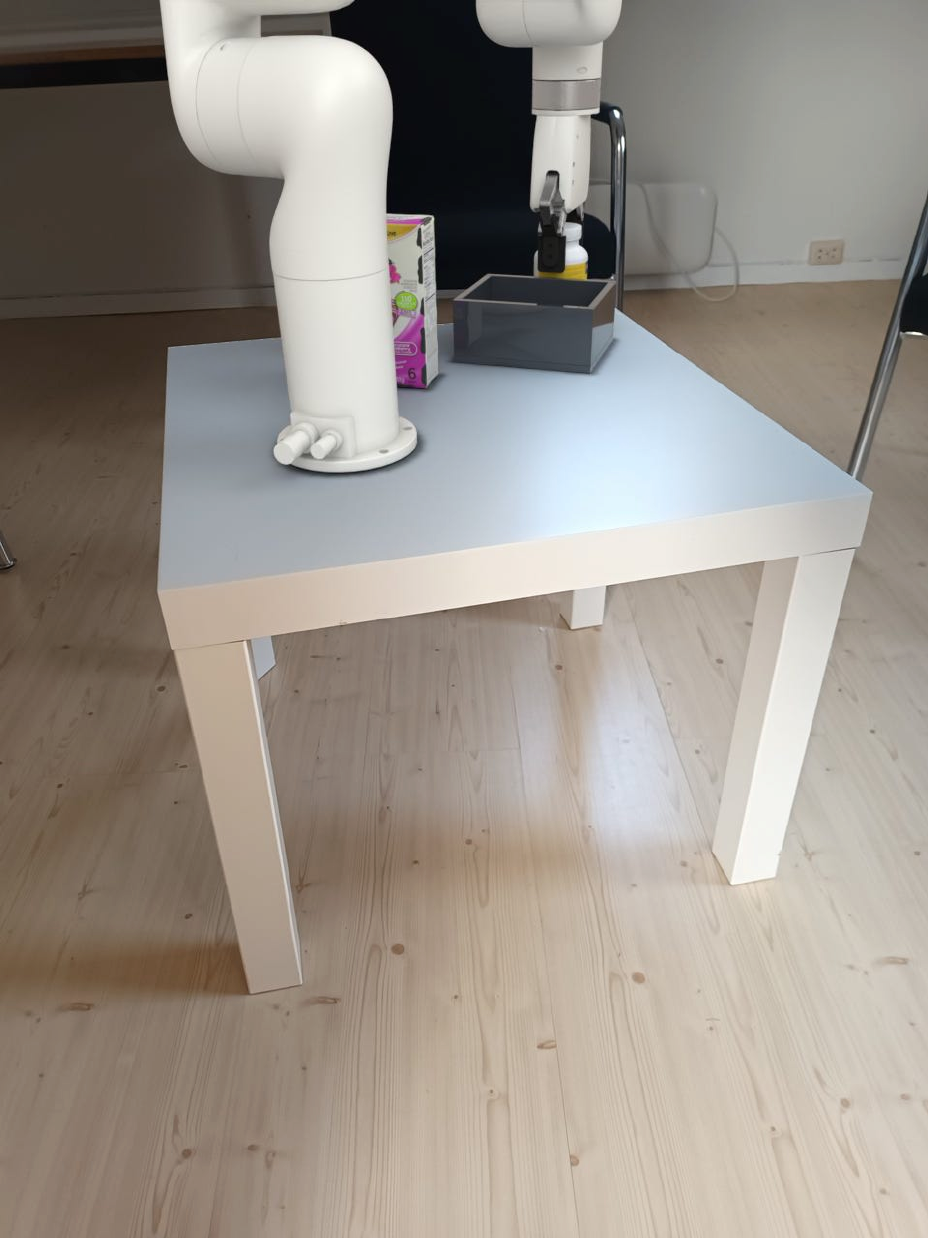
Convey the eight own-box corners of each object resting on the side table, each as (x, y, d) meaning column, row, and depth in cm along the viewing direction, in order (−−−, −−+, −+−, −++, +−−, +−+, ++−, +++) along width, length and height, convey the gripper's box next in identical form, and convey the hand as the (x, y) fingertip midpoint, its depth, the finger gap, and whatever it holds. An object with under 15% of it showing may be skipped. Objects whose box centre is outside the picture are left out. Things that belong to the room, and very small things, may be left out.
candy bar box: (327, 384, 99) (310, 219, 90) (344, 369, 103) (329, 210, 94) (428, 390, 96) (420, 221, 87) (441, 375, 100) (435, 212, 91)
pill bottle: (587, 331, 113) (592, 230, 106) (533, 332, 113) (535, 231, 106) (582, 317, 118) (587, 219, 112) (531, 318, 118) (533, 221, 112)
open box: (590, 373, 100) (593, 309, 96) (454, 361, 104) (452, 299, 100) (612, 340, 110) (616, 280, 106) (487, 330, 114) (487, 273, 110)
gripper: (552, 92, 110) (548, 247, 119) (511, 104, 96) (510, 278, 106) (614, 92, 108) (605, 250, 117) (581, 104, 94) (574, 282, 103)
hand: (560, 262), depth 111 cm, fingers open, 8 cm apart
